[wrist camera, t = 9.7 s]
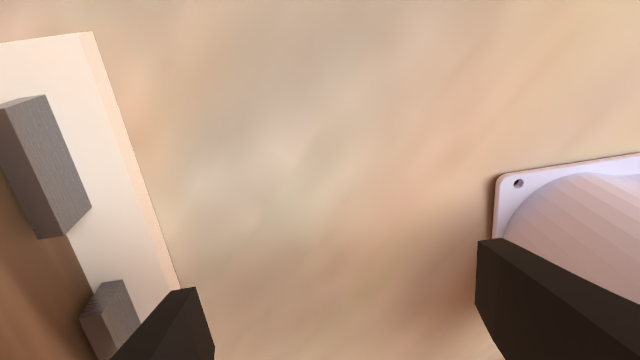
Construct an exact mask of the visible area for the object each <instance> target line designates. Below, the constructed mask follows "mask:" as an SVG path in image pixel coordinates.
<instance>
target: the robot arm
mask: <svg viewBox="0 0 640 360" xmlns="http://www.w3.org/2000/svg"><path fill="white" fill-rule="evenodd" d="M518 179H519V182H518V183H517V184H516V185H513V184H514V182H515V181H516V180H518ZM475 305H476V307H477V310H478V312H479V314H480V316H481V318H482V320H483V322H484V324H485V326H486V328H487V330H488V332H489V334H490V336H491V337H492V339H493V341H494V343H495V344H496V346H497V347H498V349H499V350H500V352H501V353H502V355H503V357H504V358H505V360H640V153H635V154H629V155H622V156H616V157H609V158H603V159H597V160H590V161H584V162H577V163H571V164H564V165H558V166H551V167H545V168H539V169H532V170H526V171H519V172H513V173H506V174H503V175H501V176H500V177H499V178H498V179H497V181H496V186H495V200H494V215H493V229H492V239H489V240H483V241H478V250H477V269H476V289H475ZM214 352H215V346H214V343H213V340H212V337H211V333H210V330H209V327H208V324H207V321H206V318H205V315H204V312H203V309H202V306H201V303H200V300H199V296H198V293H197V290H196V287H191V288H184V289H178V290H172V291H170V292H169V293H168V294H167V295H166V296H165V298H164V299H163V300H162V301H161V302H160V303H159V304H158V305H157V307H156V308H155V309H154V310H153V311H152V312H151V313H150V315H149V316H148V317H147V318H146V319H145V320H144V321H143V323H142V324H141V325H140V326H139V327H138V328H137V329H136V331H135V332H134V333H133V334H132V335H131V336H130V337H129V338H128V340H127V341H126V342H125V343H124V344H123V345H122V346H121V347H120V348H119V350H118V351H117V352H116V353H115V354H114V355H113V356H112V357H111V358H110V360H214Z"/></svg>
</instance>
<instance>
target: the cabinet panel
mask: <svg viewBox="0 0 640 360" xmlns="http://www.w3.org/2000/svg"><path fill="white" fill-rule="evenodd" d="M44 94H45V95H46V97H47V100H48V102H49V105H50V107H51V109H52V112H53V114H54V116H55V119H56V121H57V124H58V126H59V128H60V131H61V133H62V136H63V138H64V140H65V143H66V145H67V148H68V150H69V152H70V155H71V157H72V160H73V162H74V164H75V167H76V169H77V172H78V174H79V176H80V179H81V181H82V183H83V186H84V188H85V191H86V193H87V195H88V198H89V200H90V203H91V205H92V208H91V209H90V210H89V211H88V212H87V213H86V214H85V215H84V216H83V217H82V218H81V219H80V220H79V221H78V222H77V223H76V224H75V225H74V226H73V227H72V228H71V229H70V230H69V231H68V232H67V233H66V235H67V237H68V239H69V241H70V243H71V246H72V248H73V250H74V252H75V254H76V256H77V259H78V261H79V263H80V265H81V267H82V269H83V271H84V274H85V276H86V278H87V280H88V282H89V284H90V287H91V289H92V291H93V293H94V294H95V292H96V291H97V289H98V288H99V286H100V285H101V283H103V282H109V281H115V280H121V279H123V282H124V284H125V286H126V289H127V291H128V294H129V296H130V298H131V301H132V303H133V305H134V308H135V310H136V313H137V315H138V317H139V320H140V322H141V324H142V323H143V321H144V320H145V319H146V318H147V317H148V316H149V315H150V313H151V312H152V311H153V310H154V309H155V308H156V307H157V305H158V304H159V303H160V302H161V301H162V300H163V299H164V298H165V296H166V295H167V294H168V293H169V292H170V291H172V290H178V289H181V288H180V285H179V282H178V279H177V276H176V273H175V270H174V267H173V264H172V261H171V258H170V256H169V253H168V250H167V247H166V244H165V241H164V238H163V235H162V232H161V229H160V227H159V224H158V221H157V218H156V215H155V212H154V209H153V206H152V203H151V200H150V198H149V195H148V192H147V189H146V186H145V183H144V180H143V177H142V174H141V171H140V169H139V166H138V163H137V160H136V157H135V154H134V151H133V148H132V145H131V142H130V140H129V137H128V134H127V131H126V128H125V125H124V122H123V119H122V116H121V113H120V111H119V108H118V105H117V102H116V99H115V96H114V93H113V90H112V87H111V84H110V82H109V79H108V76H107V73H106V70H105V67H104V64H103V61H102V58H101V55H100V53H99V50H98V47H97V44H96V41H95V38H94V35H93V32H92V31H89V32H78V33H71V34H64V35H56V36H49V37H42V38H34V39H27V40H20V41H12V42H5V43H0V104H2V103H5V102H8V101H11V100H14V99H18V98H23V97H30V96H37V95H44Z"/></svg>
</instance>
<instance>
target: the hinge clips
mask: <svg viewBox="0 0 640 360" xmlns="http://www.w3.org/2000/svg"><path fill="white" fill-rule="evenodd" d="M0 166H1V168H2V170H3V172H4V174H5V176H6V178H7V180H8V182H9V184H10V186H11V188H12V189H13V191H14V193H15V195H16V197H17V199H18V201H19V203H20V205H21V207H22V209H23V211H24V213H25V215H26V217H27V219H28V221H29V223H30V225H31V227H32V229H33V231H34V233H35V235H36V237H37V239H38V240H40V239H47V238H53V237H60V236H65V234H66V233H67V232H68V231H69V230H70V229H71V228H72V227H73V226H74V225H75V224H76V223H77V222H78V221H79V220H80V219H81V218H82V217H83V216H84V215H85V214H86V213H87V212H88V211H89V210H90V209H91V208H92V205H91V203H90V200H89V198H88V195H87V193H86V191H85V188H84V186H83V183H82V181H81V179H80V176H79V174H78V172H77V169H76V167H75V164H74V162H73V160H72V157H71V155H70V152H69V150H68V148H67V145H66V143H65V140H64V138H63V136H62V133H61V131H60V128H59V126H58V124H57V121H56V119H55V116H54V114H53V112H52V109H51V107H50V105H49V102H48V100H47V97H46V95H45V94H44V95H37V96H30V97H23V98H18V99H14V100H11V101H8V102H5V103H2V104H0ZM78 320H79V322H80V324H81V326H82V328H83V330H84V332H85V334H86V336H87V338H88V340H89V342H90V344H91V346H92V348H93V350H94V352H95V354H96V356H97V358H98V360H110V358H111V357H112V356H113V355H114V354H115V353H116V352H117V351H118V350H119V348H120V347H121V346H122V345H123V344H124V343H125V342H126V341H127V340H128V338H129V337H130V336H131V335H132V334H133V333H134V332H135V331H136V329H137V328H138V327H139V326H140V325H141V322H140V320H139V317H138V315H137V313H136V310H135V308H134V305H133V303H132V301H131V298H130V296H129V294H128V291H127V289H126V286H125V284H124V282H123V279H121V280H115V281H109V282H103V283H101V285H100V286H99V288H98V289H97V291H96V292H95V294H94V295H93V297H92V298H91V300H90V301H89V303H88V304H87V306H86V307H85V309H84V310H83V312H82V313H81V315H80V316H79V318H78Z"/></svg>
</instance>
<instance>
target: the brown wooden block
mask: <svg viewBox="0 0 640 360" xmlns="http://www.w3.org/2000/svg"><path fill="white" fill-rule="evenodd" d="M93 295H94V293H93V291H92V289H91V287H90V284H89V282H88V280H87V278H86V276H85V274H84V271H83V269H82V267H81V265H80V263H79V261H78V259H77V256H76V254H75V252H74V250H73V248H72V246H71V243H70V241H69V239H68V237H67V235H66V234H65V236H60V237H53V238H47V239H40V240H38V239H37V237H36V235H35V233H34V231H33V229H32V227H31V225H30V223H29V221H28V219H27V217H26V215H25V213H24V211H23V209H22V207H21V205H20V203H19V201H18V199H17V197H16V195H15V193H14V191H13V189H12V188H11V186H10V184H9V182H8V180H7V178H6V176H5V174H4V172H3V170H2V168H1V166H0V360H98V358H97V356H96V354H95V352H94V350H93V348H92V346H91V344H90V342H89V340H88V338H87V336H86V334H85V332H84V330H83V328H82V326H81V324H80V322H79V320H78V318H79V316H80V315H81V313H82V312H83V310H84V309H85V307H86V306H87V304H88V303H89V301H90V300H91V298H92V297H93Z"/></svg>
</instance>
